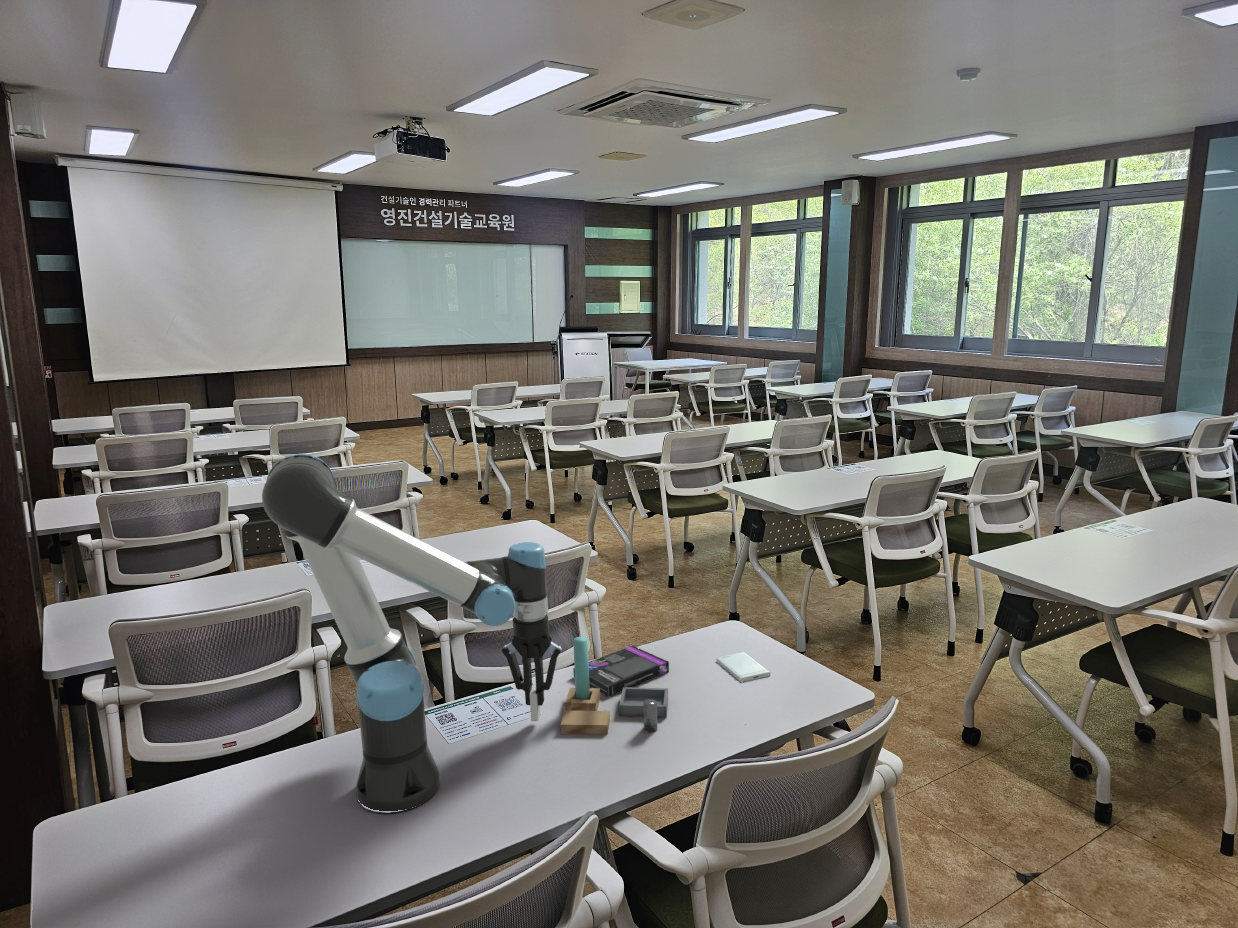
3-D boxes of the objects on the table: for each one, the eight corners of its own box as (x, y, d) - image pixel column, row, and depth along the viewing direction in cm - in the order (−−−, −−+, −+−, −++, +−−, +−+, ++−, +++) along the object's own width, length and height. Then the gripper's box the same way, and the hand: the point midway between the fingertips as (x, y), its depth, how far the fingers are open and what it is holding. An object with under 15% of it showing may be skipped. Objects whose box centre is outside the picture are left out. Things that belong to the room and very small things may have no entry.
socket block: (565, 712, 175) (564, 702, 175) (570, 697, 182) (570, 687, 182) (596, 713, 175) (595, 703, 174) (600, 698, 181) (599, 688, 181)
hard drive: (716, 657, 199) (741, 677, 188) (744, 651, 202) (770, 671, 190) (716, 663, 199) (741, 684, 188) (744, 657, 202) (770, 677, 191)
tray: (619, 715, 173) (619, 705, 173) (623, 697, 182) (623, 687, 181) (666, 717, 172) (666, 706, 172) (668, 698, 180) (668, 688, 180)
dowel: (574, 708, 177) (572, 642, 174) (577, 701, 180) (574, 636, 177) (588, 709, 177) (586, 642, 174) (590, 702, 180) (588, 636, 177)
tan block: (561, 735, 167) (560, 724, 166) (564, 720, 173) (564, 710, 172) (607, 735, 166) (607, 724, 166) (609, 721, 172) (609, 710, 172)
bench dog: (642, 731, 167) (642, 705, 165) (644, 724, 170) (643, 698, 168) (657, 732, 166) (656, 706, 165) (657, 724, 169) (657, 699, 168)
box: (633, 657, 205) (572, 678, 193) (633, 644, 204) (572, 665, 192) (669, 674, 194) (607, 698, 182) (669, 661, 193) (607, 684, 181)
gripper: (495, 622, 163) (502, 726, 167) (557, 623, 161) (562, 727, 166) (504, 608, 170) (510, 708, 175) (563, 609, 169) (568, 710, 173)
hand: (535, 717), depth 170 cm, fingers closed
